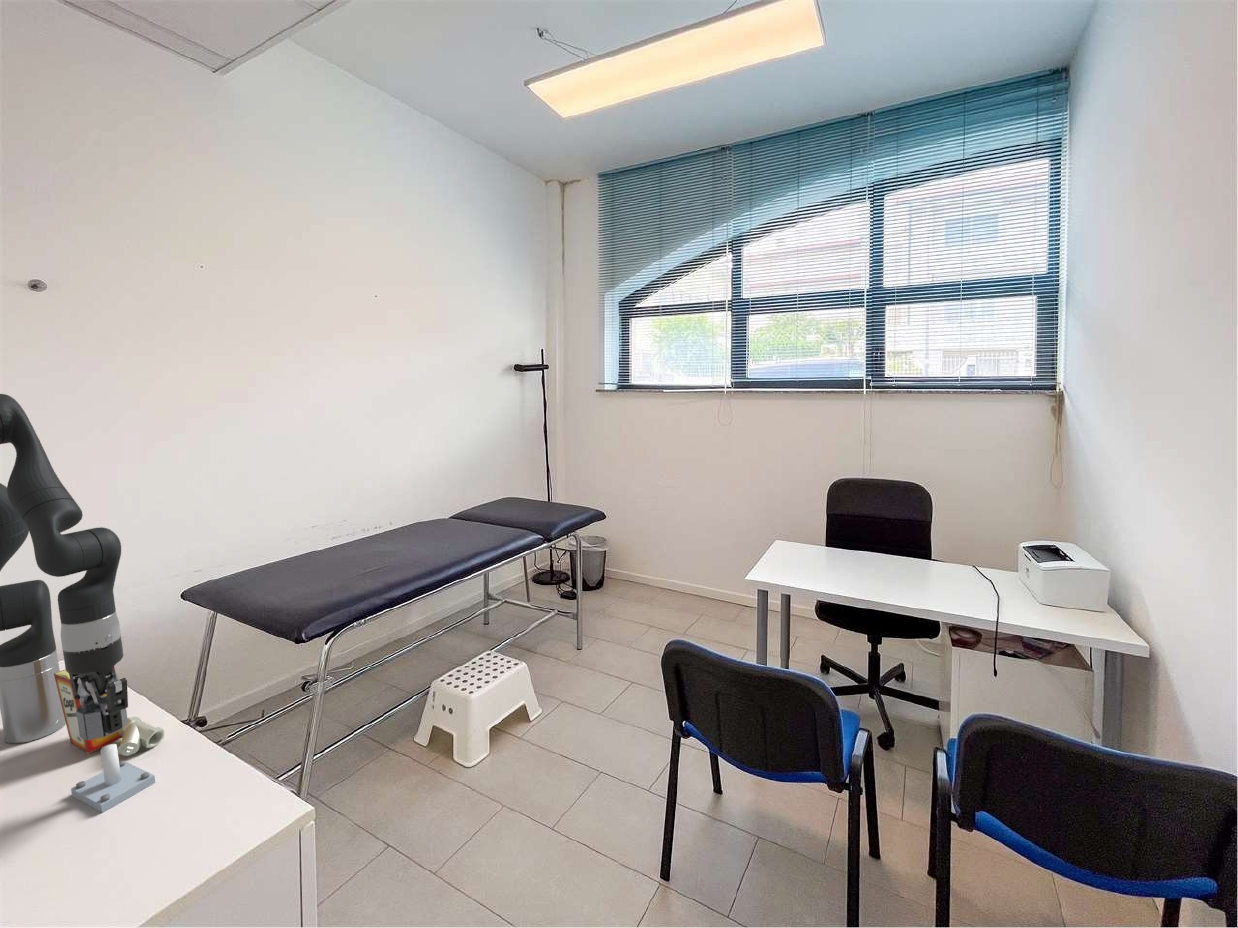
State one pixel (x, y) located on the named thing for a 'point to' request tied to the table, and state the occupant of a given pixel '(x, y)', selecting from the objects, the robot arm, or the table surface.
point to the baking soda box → (71, 716)
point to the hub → (94, 720)
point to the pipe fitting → (138, 736)
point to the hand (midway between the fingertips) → (104, 725)
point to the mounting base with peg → (112, 782)
